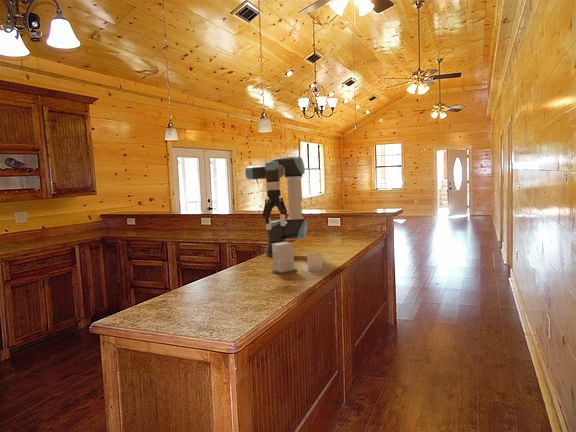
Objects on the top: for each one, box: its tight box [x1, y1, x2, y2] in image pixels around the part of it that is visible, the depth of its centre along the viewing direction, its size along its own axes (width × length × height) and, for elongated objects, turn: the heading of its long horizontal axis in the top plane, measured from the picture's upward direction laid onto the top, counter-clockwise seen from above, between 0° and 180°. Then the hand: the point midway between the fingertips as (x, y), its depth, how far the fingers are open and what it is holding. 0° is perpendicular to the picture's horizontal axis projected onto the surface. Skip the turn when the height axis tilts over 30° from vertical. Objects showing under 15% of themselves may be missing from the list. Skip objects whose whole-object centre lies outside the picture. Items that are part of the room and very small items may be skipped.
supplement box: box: [272, 241, 295, 272], centre depth 235 cm, size 9×9×15 cm
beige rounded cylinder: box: [306, 252, 324, 273], centre depth 233 cm, size 8×8×9 cm
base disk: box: [271, 267, 298, 275], centre depth 236 cm, size 14×14×1 cm
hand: (276, 227), depth 237 cm, fingers open, 13 cm apart
